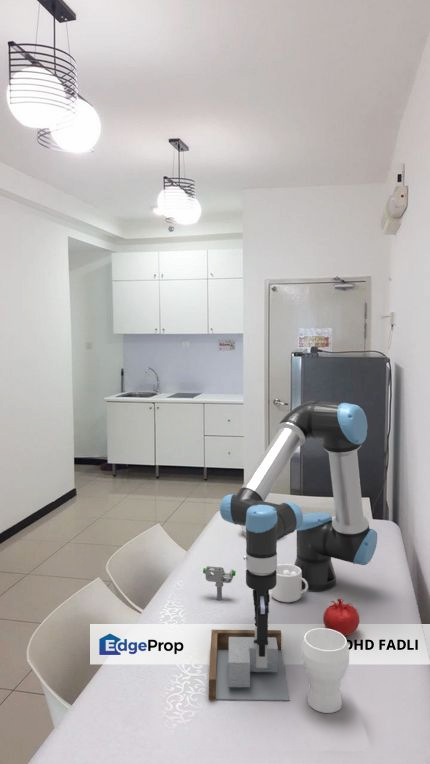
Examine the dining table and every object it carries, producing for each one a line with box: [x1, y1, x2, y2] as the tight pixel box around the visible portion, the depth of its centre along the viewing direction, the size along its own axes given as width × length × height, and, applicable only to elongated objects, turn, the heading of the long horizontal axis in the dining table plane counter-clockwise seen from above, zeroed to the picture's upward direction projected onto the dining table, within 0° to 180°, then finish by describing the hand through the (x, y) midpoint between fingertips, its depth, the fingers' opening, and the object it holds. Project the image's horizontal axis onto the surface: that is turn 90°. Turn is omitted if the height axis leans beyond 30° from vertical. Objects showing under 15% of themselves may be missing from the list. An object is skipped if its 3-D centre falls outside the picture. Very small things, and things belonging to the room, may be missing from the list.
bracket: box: [229, 637, 278, 687], centre depth 133 cm, size 11×12×6 cm
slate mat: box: [215, 649, 291, 702], centre depth 135 cm, size 17×20×1 cm
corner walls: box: [208, 629, 282, 701], centre depth 136 cm, size 19×22×5 cm
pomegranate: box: [322, 598, 360, 637], centre depth 155 cm, size 10×10×9 cm
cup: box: [301, 627, 350, 714], centre depth 124 cm, size 11×11×15 cm
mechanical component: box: [202, 565, 236, 601], centre depth 174 cm, size 3×10×10 cm, turn 78°
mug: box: [270, 563, 309, 603], centre depth 175 cm, size 12×10×9 cm
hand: (260, 659), depth 136 cm, fingers closed on bracket, 5 cm apart
